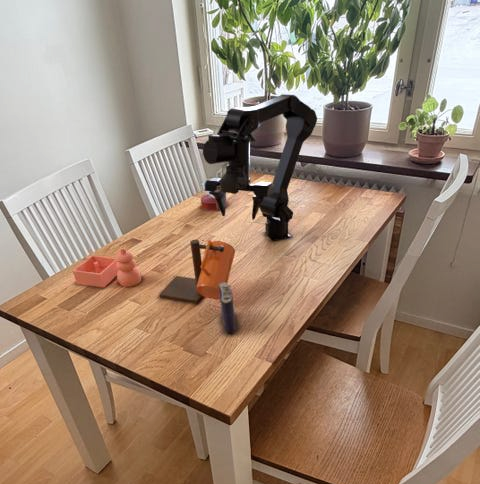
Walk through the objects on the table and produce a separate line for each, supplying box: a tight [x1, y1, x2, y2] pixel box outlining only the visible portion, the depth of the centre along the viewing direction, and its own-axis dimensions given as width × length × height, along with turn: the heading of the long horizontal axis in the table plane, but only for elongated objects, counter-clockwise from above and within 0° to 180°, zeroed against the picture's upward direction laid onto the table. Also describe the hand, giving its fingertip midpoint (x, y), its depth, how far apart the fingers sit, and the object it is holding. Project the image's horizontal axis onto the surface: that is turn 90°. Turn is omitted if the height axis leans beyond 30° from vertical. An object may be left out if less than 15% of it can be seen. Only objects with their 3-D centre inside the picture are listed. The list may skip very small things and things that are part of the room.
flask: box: [219, 283, 237, 336], centre depth 101 cm, size 9×3×11 cm, turn 8°
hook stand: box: [158, 239, 224, 304], centre depth 112 cm, size 10×18×15 cm, turn 70°
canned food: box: [200, 181, 228, 212], centre depth 164 cm, size 11×10×10 cm
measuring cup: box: [196, 239, 236, 300], centre depth 109 cm, size 11×7×13 cm
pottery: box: [72, 248, 142, 288], centre depth 122 cm, size 18×10×10 cm, turn 72°
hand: (238, 217), depth 124 cm, fingers open, 9 cm apart
